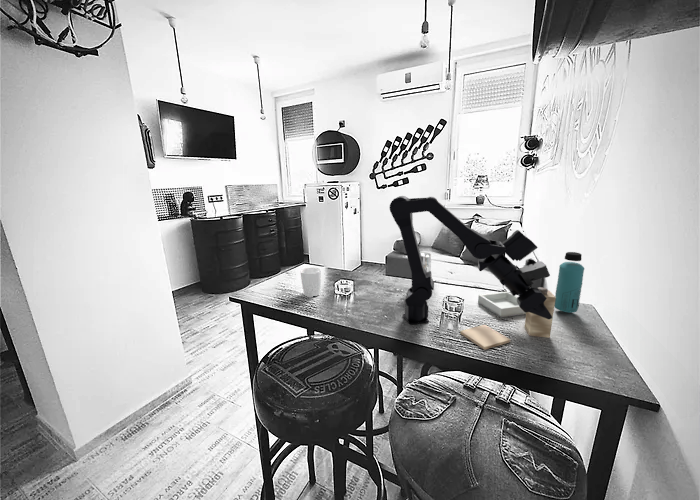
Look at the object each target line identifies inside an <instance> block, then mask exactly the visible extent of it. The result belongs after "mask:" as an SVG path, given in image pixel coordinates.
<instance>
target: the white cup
mask: <svg viewBox="0 0 700 500" xmlns="http://www.w3.org/2000/svg"><path fill="white" fill-rule="evenodd" d="M321 271H322V269H321V268H319V267H307V268H303V269H301V270H300V278H301V279H300V280H301V284H302V286H301V287H302V289H303V290H302V291H303V296H304V295H305V296H307V297H306V298H314V297H313V296H317V295H319V294H320V295H321V290H322V289H321V287H322V279H321V278H322V272H321ZM320 295H319V296H320ZM305 296H304V297H305ZM317 297H318V296H317Z"/></svg>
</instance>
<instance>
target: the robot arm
mask: <svg viewBox="0 0 700 500" xmlns="http://www.w3.org/2000/svg"><path fill="white" fill-rule="evenodd" d="M389 211H390V214H391V216H392V218H393V221H394V222H395V224H396V225H397V227H398V228H399V231H400V234H401V235H400V236H401V239H402V243H403V245H404V250H405V253H406V258H407V261H408V264H409V269H410V272H411V287H410V288H408V290H407V293H406V296H405V300H404V313H403V314H402V317H403V318H404V319H405V320H406V322H407V323H408V324H409V325H418V324H425V323H430V320H429V319H428V318H429V305H428V301H429V300H430V299H431V297H432V296H433V291H434V290H435V281H434V279H433V277H432V270H431V271H429V272H426V270H425V268H424V266H423V262H422V258H421V254H420V252H421V250H420V247H419V243H418V240H417V236H416V231H415V228H414V223H413V220H414V219H413V218H414V217H413V214H415V213H416V214H417V213H423V212H427V213H428V212H429V213H430V214H431V215H432V216H433V217H434V218H435V219H436V220H438V221H439V222H440V223H441V224H442V225H444V226H445V227H446V229H448V230H449V231H450V232H451V233H453V235H455V236H457V238H458V239H460V241H461V243H463V245H464V247H465V248H466V249H467V250H468V252H469V254H470V255H472V256H473V257H474V258H475V259H478V260H477V263H478V264H477V268H478V271H479V272H482V271H484V270H485V269H487V270H488V271H489V272H490V273H491V274H492V275H493V276H494V278H497V280H498V281H499V283H500V284H501V285H502V286H503V287H505V288H506V289H507V290H508V292H509V293H511V294H512V295H513V296H517V303H518V305H519V307H520V308H521V309H522V310H523V311H524V312H530V313H533V314H536V315H539V316H541V317H544V318H546V319H551V318H552V316H551V314H550V313H549V311H548V309H547V308H546V306H545V305H544V301H545V300H546V299H547V298H546V297H545V295H544V294H543V293H542V292H541V291H540V290H539V289H538V288H539V287H532V286H533V285H534V281H537V280H541V279H546V278H549V277H550V276H551V275H550V272H549V270H548V267H547V264H545V262H543V261H542V260H541V261H540V260H537V261H536V260H534V259H533V258H527V259H525V258H526V257H528V256H529V255H531V253H532V252H534V251H535V250H537V249H538V248H539V247H538V246H537V245H536V244H535V243H534V242H533V241H532V240H531V239H530V238H528V237H527V236H526V235H525V234H523V232H522V231H520V230H519V229H516V230H515V231H514V232H513V233H512V234H511V235H510V236H509V237H507V238H506V239H505V240H503V241H500V240H495V239H494V240H493V239H489V238H488V237H487V236H485V235H483V234H482V233H481V232H478V231H477V230H475V229H473V228H471V227H469V226H467V225H466V224H465V223H464V222H463V221H462V220H460V219H459V218H458V217H457V216H456V215H455V214H453V212H451V211H450V210H449V209H448V208H446V207H445V206H444V205H443V204H442V203H441V202H439V200H438V199H437V198H436V197H434V196H428V197H417V198H416V197H415V198H409V197H407V196H405V195H400V196H397V197H396V198H393V199H392V201H391V202H390V204H389ZM505 254H506V255H507V256H508V257H509V258H510V259H511V260H512V261H511V260H510V259H509V258H508V257H506V255H505ZM523 259H525V263H524V265H523V266H522V267H519V265H515V264H514V263H513V261H516V262H518V261H519V262H520V261H523Z"/></svg>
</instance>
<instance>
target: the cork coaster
mask: <svg viewBox="0 0 700 500" xmlns="http://www.w3.org/2000/svg"><path fill="white" fill-rule="evenodd" d="M459 334H460V335H462V336H463V337H465V338H466V339H468V340H469V341H471V343H473V344H475V345H477V346H478V347H480V348H481V349H483V350H484V351H486V350H489V349H492V348H496V347H499V346H502V345H506V344H508V343H510V342H511V338H509V337H507V336H505V335H503V334H502V333H500V332H498V331H497V330H495V329H493V328H492V327H490V326H487V325H486V324H481V325H477V326H473V327H470V328H466V329H462V330H460V333H459Z"/></svg>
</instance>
